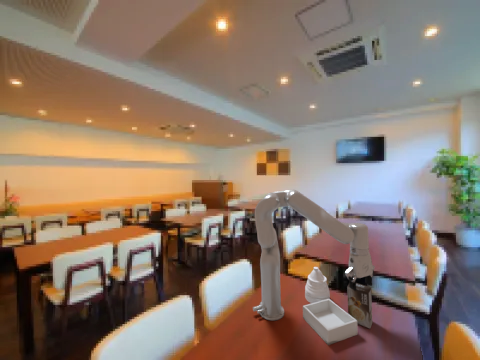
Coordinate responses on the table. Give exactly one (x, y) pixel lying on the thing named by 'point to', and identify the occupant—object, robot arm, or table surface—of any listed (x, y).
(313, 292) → the honey pot
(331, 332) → the bin
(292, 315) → the table surface
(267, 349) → the table surface
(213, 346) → the table surface
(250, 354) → the table surface
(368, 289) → the coffee box
